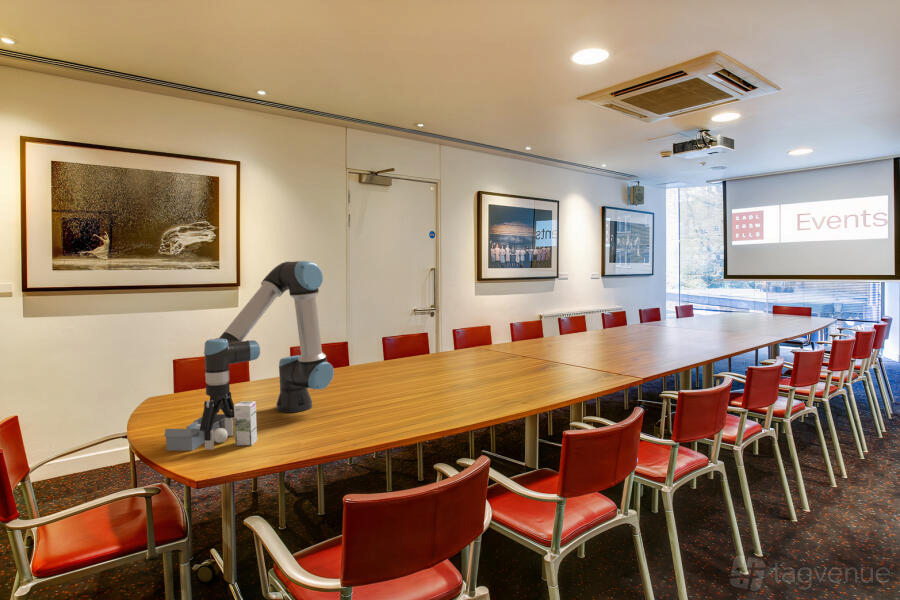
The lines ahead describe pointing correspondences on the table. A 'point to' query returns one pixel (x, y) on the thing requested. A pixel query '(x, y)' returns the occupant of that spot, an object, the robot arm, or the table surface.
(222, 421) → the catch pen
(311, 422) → the table surface
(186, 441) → the launch ramp
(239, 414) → the syrup box
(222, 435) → the pale rubber ball
